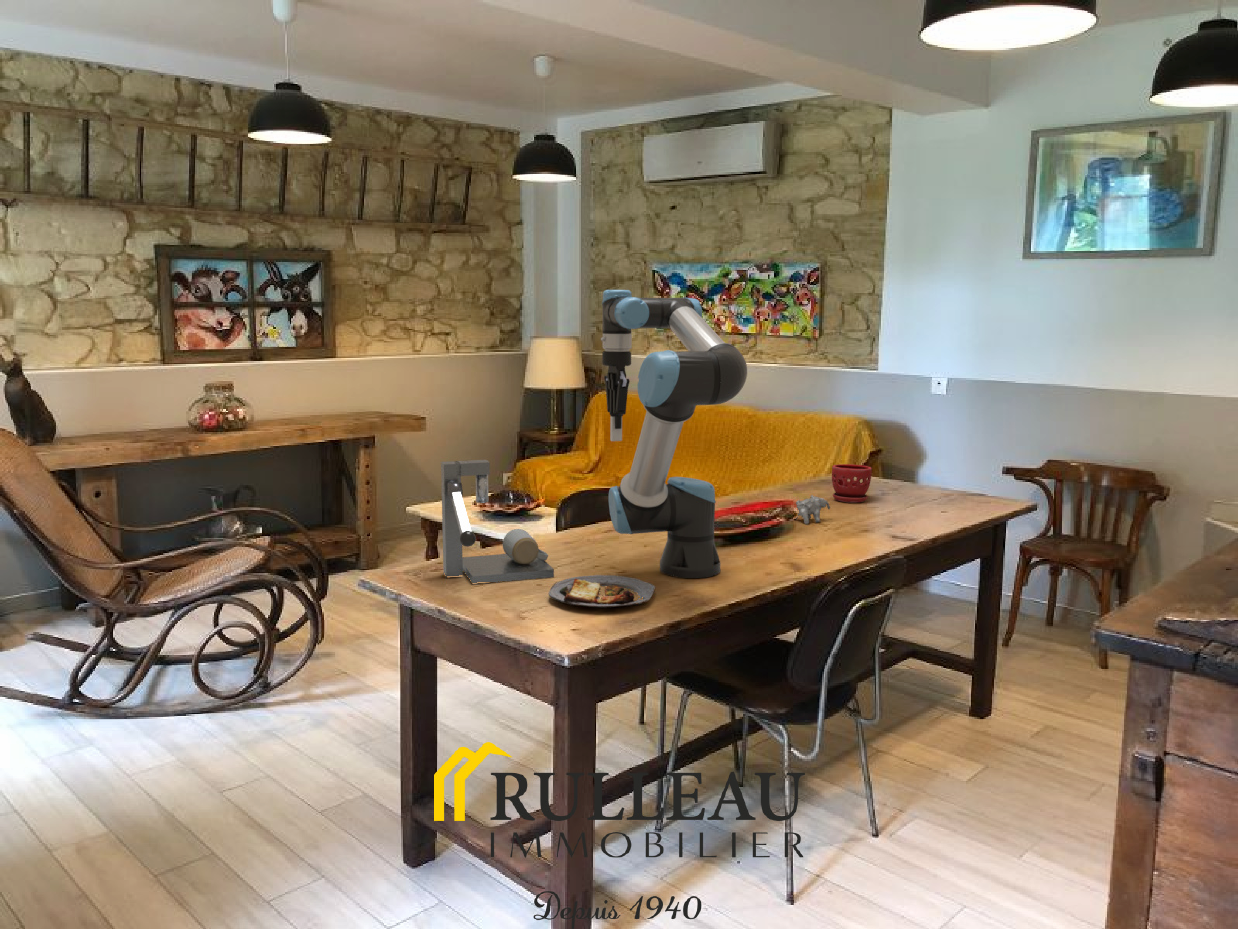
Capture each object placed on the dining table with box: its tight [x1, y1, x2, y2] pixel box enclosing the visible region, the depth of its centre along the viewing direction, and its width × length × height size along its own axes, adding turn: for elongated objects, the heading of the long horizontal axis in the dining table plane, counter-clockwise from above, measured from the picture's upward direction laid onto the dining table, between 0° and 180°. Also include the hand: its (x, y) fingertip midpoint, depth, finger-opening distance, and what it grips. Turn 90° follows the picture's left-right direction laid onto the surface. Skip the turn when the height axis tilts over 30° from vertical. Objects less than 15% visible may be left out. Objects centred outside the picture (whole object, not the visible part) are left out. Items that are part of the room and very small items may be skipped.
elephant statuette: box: [795, 494, 831, 525], centre depth 299 cm, size 9×12×8 cm
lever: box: [447, 481, 477, 548], centre depth 223 cm, size 21×4×4 cm, turn 21°
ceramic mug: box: [502, 528, 549, 564], centre depth 242 cm, size 11×8×8 cm
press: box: [440, 459, 555, 584], centre depth 238 cm, size 18×25×28 cm
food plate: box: [548, 574, 656, 609], centre depth 220 cm, size 25×23×4 cm
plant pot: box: [831, 463, 873, 504], centre depth 330 cm, size 13×13×12 cm
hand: (616, 440), depth 254 cm, fingers closed
